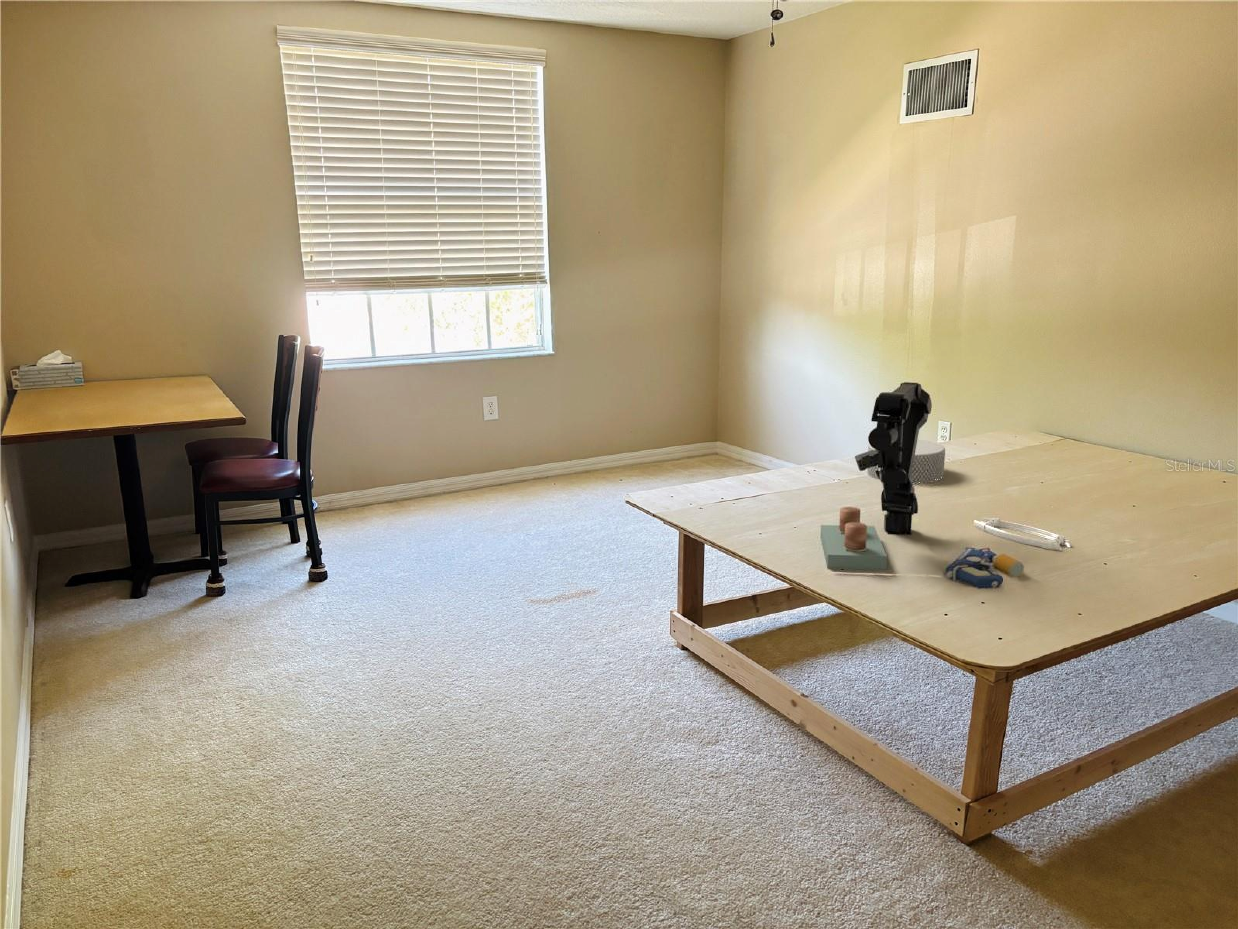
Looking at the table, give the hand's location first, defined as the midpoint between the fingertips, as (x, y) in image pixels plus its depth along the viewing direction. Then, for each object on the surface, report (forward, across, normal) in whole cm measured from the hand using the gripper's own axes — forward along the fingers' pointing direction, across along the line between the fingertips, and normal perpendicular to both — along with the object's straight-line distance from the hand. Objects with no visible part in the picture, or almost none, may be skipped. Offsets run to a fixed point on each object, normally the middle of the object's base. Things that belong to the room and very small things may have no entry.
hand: (887, 500), depth 217 cm
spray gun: (+13, +17, +21) cm, 30 cm away
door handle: (+14, -11, +36) cm, 40 cm away
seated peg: (+12, 0, -9) cm, 15 cm away
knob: (+14, -75, +17) cm, 78 cm away
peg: (+12, +13, -9) cm, 20 cm away
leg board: (+13, +7, -9) cm, 17 cm away
